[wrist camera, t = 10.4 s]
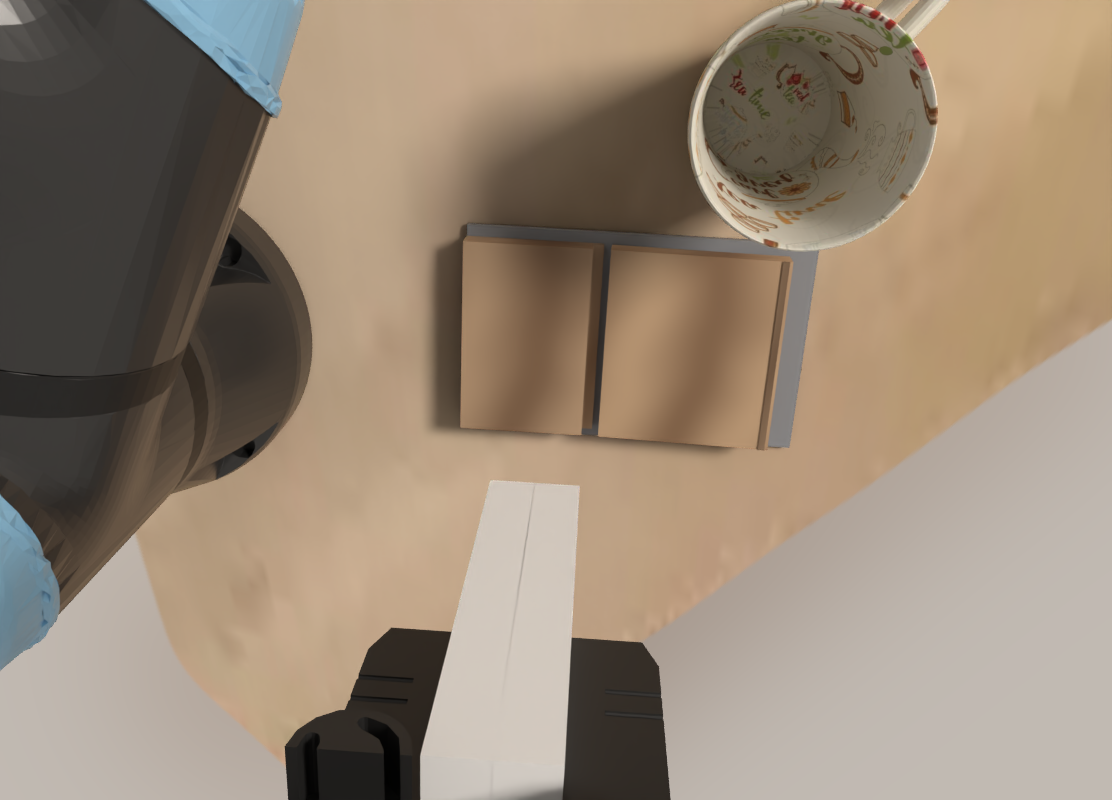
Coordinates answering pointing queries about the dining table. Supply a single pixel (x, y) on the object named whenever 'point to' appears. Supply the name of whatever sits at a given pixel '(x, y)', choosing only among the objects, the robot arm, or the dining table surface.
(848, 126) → the mug
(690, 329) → the plank
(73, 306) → the robot arm
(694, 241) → the underlay
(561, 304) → the laid plank
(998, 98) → the dining table surface
